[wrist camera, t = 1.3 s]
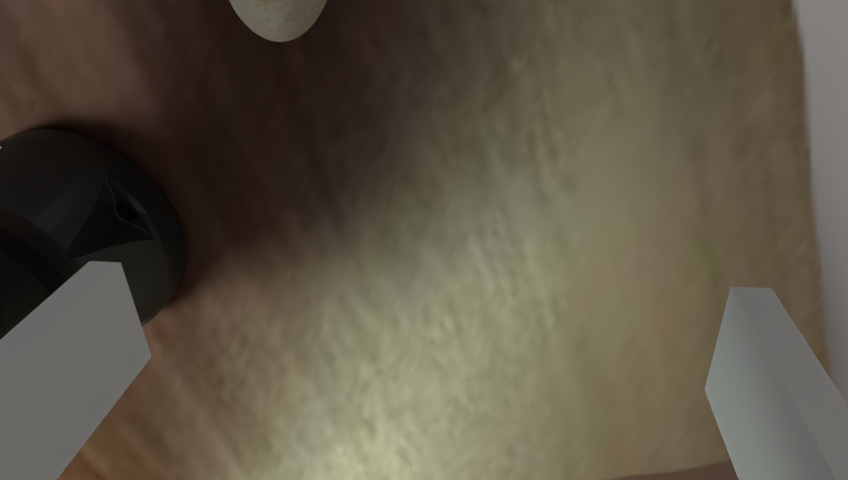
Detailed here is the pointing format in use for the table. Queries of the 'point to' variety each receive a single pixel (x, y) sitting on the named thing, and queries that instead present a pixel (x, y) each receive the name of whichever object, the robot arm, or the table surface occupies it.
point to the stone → (278, 17)
